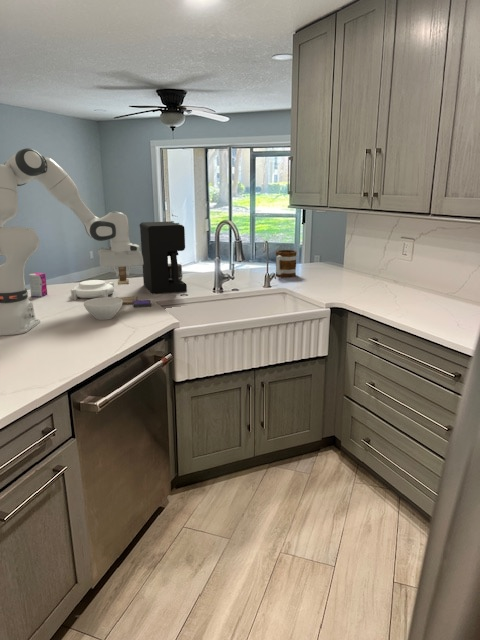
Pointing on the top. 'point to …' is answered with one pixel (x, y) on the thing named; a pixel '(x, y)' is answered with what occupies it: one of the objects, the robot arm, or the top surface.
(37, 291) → the supplement box
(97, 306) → the bowl
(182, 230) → the coffee maker
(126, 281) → the stamp
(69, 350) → the top surface
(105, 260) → the robot arm
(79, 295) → the round stand with pegs
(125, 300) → the board
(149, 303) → the ink pad
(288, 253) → the mug
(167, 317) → the top surface
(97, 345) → the top surface
